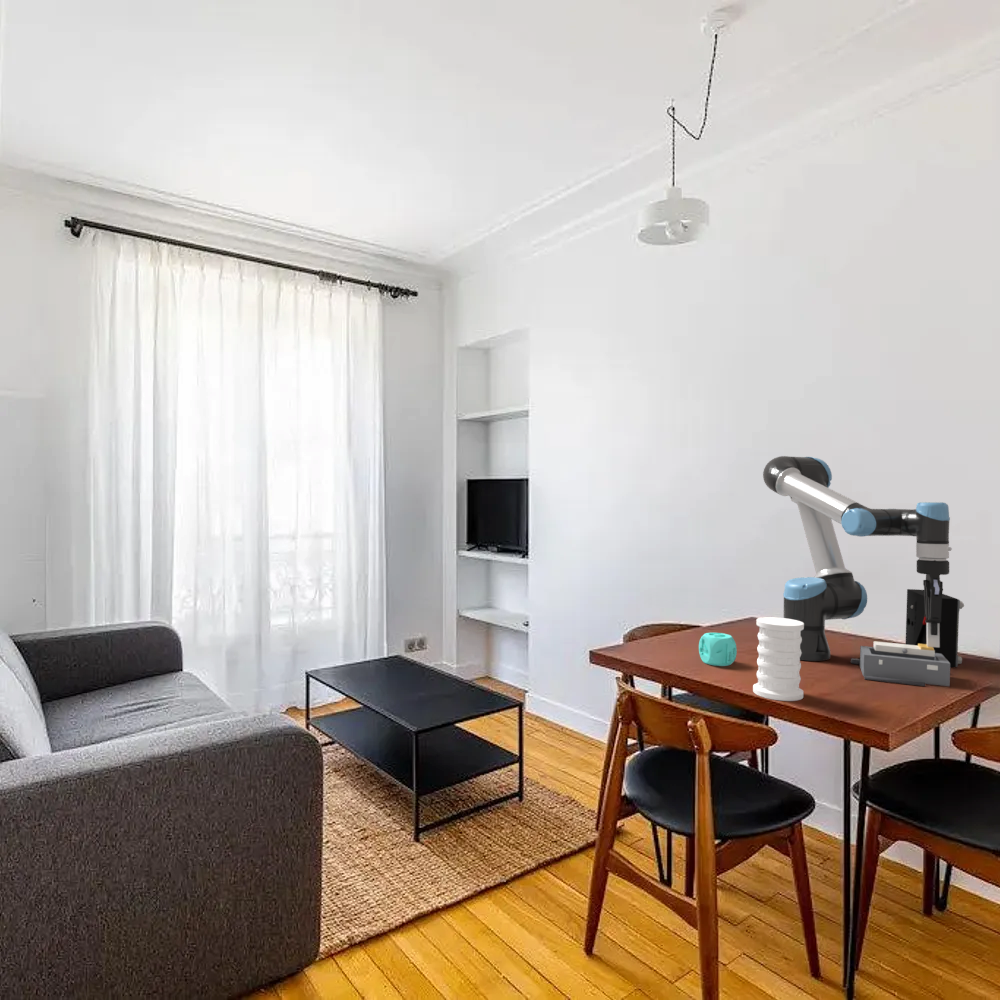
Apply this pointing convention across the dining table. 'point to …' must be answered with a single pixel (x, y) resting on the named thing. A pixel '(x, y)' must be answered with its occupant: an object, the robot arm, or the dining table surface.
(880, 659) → the breaker housing
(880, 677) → the dark grey thin bar
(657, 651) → the dining table surface
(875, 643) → the rocker
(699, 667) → the dining table surface
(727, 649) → the decorative dice
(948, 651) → the electrical component
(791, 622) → the decorative container
